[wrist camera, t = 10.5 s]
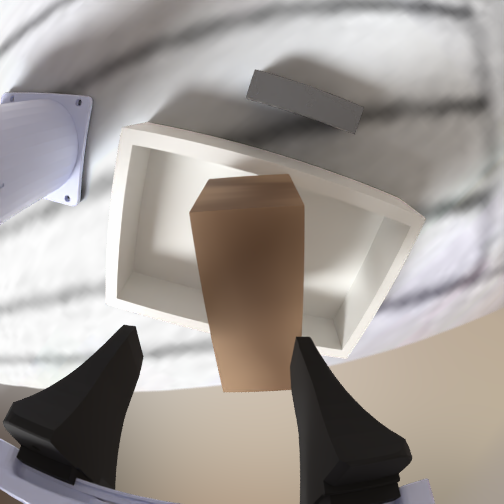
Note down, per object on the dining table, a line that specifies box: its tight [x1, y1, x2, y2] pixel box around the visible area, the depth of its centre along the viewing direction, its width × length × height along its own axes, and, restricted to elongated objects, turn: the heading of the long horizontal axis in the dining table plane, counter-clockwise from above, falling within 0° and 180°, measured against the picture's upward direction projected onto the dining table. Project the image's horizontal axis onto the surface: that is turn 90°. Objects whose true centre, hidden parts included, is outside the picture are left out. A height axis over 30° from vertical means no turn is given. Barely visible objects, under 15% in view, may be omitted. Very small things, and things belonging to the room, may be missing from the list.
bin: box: [106, 122, 426, 359], centre depth 19 cm, size 18×12×4 cm, turn 74°
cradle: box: [246, 70, 364, 134], centre depth 12 cm, size 6×15×3 cm, turn 164°
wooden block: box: [189, 174, 305, 392], centre depth 15 cm, size 4×10×5 cm, turn 4°
